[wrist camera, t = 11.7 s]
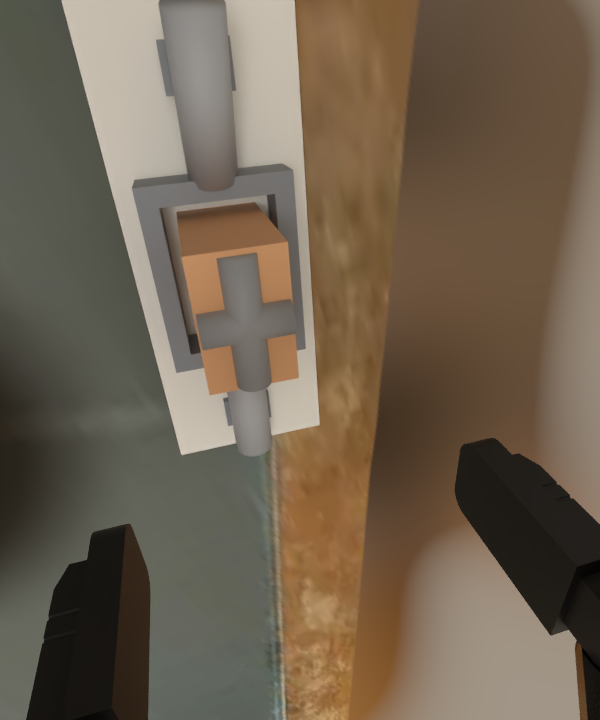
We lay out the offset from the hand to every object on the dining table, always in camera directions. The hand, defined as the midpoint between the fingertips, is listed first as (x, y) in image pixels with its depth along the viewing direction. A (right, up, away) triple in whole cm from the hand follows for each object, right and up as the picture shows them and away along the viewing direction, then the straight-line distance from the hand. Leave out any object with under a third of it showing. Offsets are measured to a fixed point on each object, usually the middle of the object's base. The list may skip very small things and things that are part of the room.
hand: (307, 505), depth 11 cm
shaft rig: (-5, +10, +17) cm, 20 cm away
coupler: (-4, +9, +16) cm, 18 cm away
